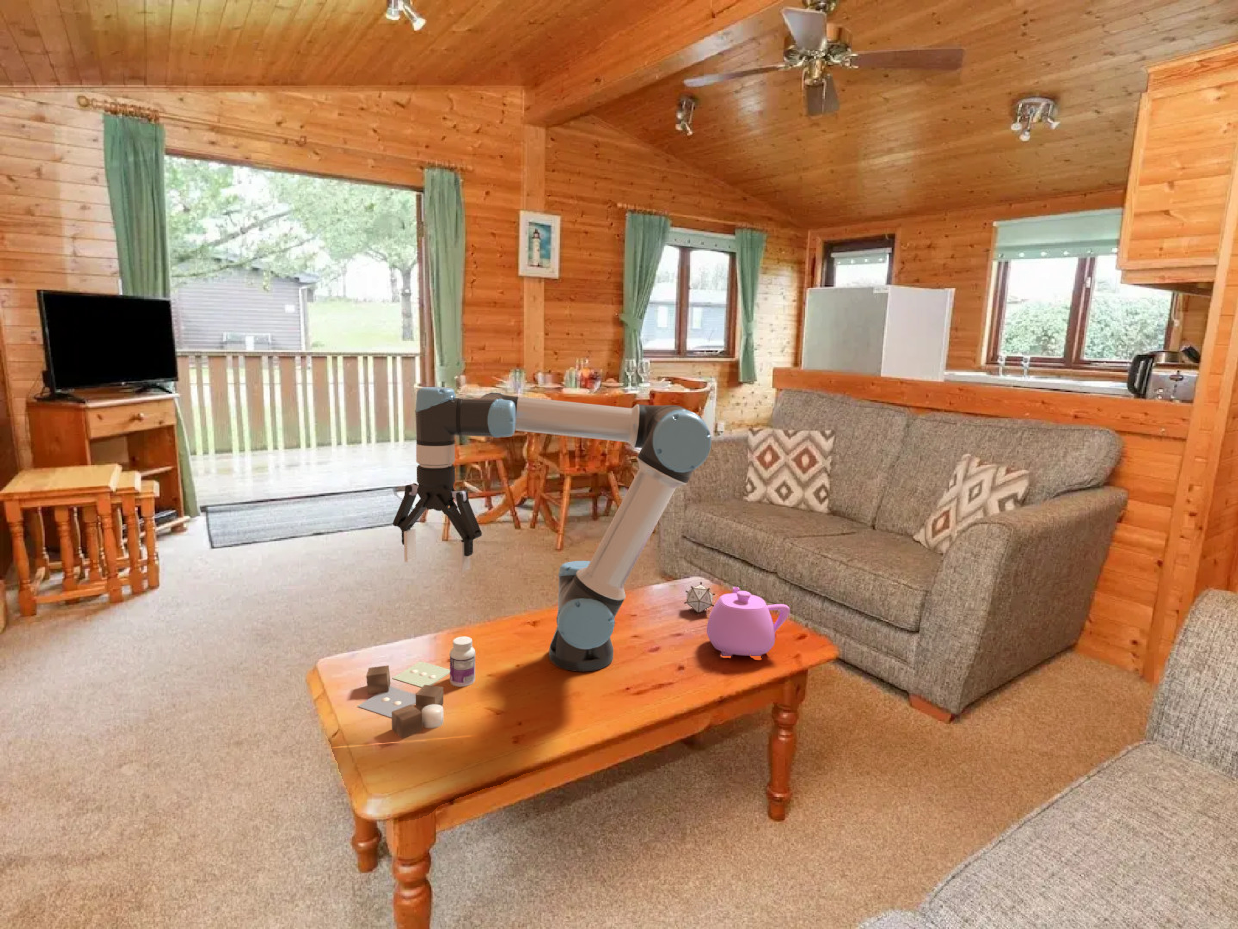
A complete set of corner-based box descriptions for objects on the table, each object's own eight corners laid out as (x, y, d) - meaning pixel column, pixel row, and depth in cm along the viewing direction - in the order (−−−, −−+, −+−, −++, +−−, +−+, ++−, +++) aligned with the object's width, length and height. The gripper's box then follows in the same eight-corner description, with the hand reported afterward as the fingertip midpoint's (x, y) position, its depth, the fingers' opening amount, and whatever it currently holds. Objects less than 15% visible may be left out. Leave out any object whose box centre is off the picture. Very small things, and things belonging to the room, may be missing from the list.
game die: (693, 626, 193) (675, 601, 189) (695, 605, 200) (678, 581, 196) (721, 616, 189) (704, 591, 186) (723, 595, 196) (706, 570, 193)
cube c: (390, 683, 146) (388, 665, 146) (388, 691, 142) (386, 673, 142) (370, 685, 145) (368, 668, 145) (368, 694, 142) (366, 676, 141)
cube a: (443, 705, 139) (443, 687, 139) (435, 715, 136) (434, 697, 135) (424, 703, 140) (424, 684, 139) (415, 713, 136) (415, 694, 135)
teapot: (776, 632, 182) (780, 578, 179) (792, 668, 162) (798, 607, 160) (701, 628, 182) (705, 574, 180) (708, 663, 163) (713, 603, 160)
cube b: (411, 723, 132) (422, 732, 130) (392, 731, 130) (402, 740, 127) (411, 704, 132) (422, 712, 129) (391, 711, 129) (402, 720, 126)
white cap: (447, 721, 134) (447, 707, 133) (434, 732, 130) (434, 717, 129) (431, 716, 135) (431, 702, 135) (417, 726, 132) (417, 712, 131)
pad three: (452, 672, 153) (452, 670, 153) (425, 689, 145) (425, 688, 145) (420, 662, 157) (420, 661, 156) (392, 679, 148) (392, 678, 148)
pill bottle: (451, 675, 151) (451, 634, 150) (476, 675, 152) (476, 634, 150) (447, 688, 146) (448, 645, 144) (473, 688, 147) (473, 645, 145)
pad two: (424, 698, 141) (424, 696, 141) (393, 719, 133) (393, 717, 133) (389, 688, 145) (389, 686, 145) (357, 707, 137) (357, 706, 137)
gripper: (499, 467, 138) (498, 569, 141) (398, 455, 147) (400, 551, 151) (477, 474, 131) (477, 580, 135) (373, 460, 140) (376, 560, 144)
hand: (436, 565), depth 143 cm, fingers open, 13 cm apart
